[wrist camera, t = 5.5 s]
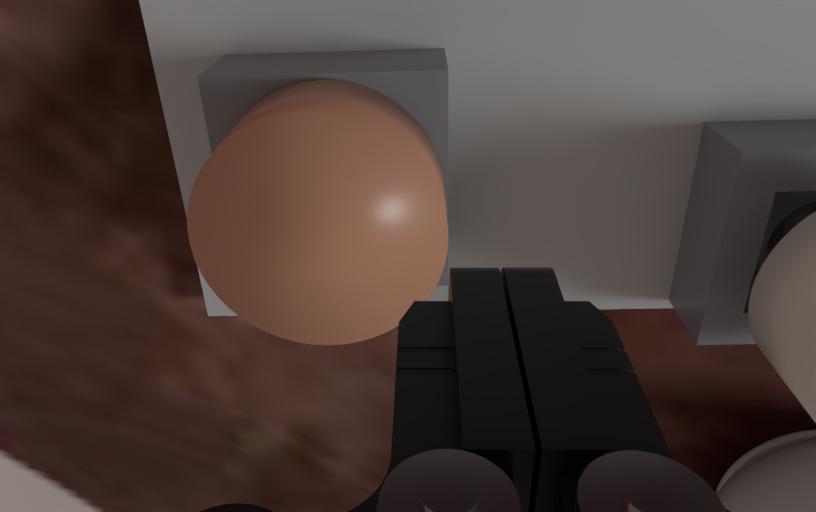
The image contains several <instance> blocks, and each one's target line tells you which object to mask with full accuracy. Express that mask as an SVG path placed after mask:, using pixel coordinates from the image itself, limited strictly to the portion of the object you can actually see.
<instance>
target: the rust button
mask: <svg viewBox="0 0 816 512" xmlns="http://www.w3.org/2000/svg"><path fill="white" fill-rule="evenodd" d="M187 230H188V237H189V243H190V247H191V250H192V253H193V257H194V259H195V261H196V264H197V266H198V268H199V270H200V272H201V274H202V276H203V277H204V279H205V281H206V282H207V284H208V285H209V287H210V288H211V289H212V290H213V292H214V293H215V294H216V295H217V297H218V298H219V299H220V300H221V301H222V302H223V303H224V304H225V305H226V306H227V307H228V308H229V309H231V310H232V311H233V312H234V313H236V314H237V315H238V316H240V317H241V318H242V319H244V320H245V321H247V322H249V323H250V324H252V325H253V326H255V327H257V328H259V329H261V330H263V331H265V332H267V333H270V334H272V335H275V336H278V337H281V338H283V339H287V340H291V341H295V342H300V343H307V344H314V345H340V344H349V343H354V342H360V341H363V340H367V339H370V338H373V337H376V336H378V335H381V334H383V333H385V332H388V331H390V330H391V329H393V328H395V327H397V326H398V325H399V321H400V320H401V318H402V317H403V316H404V314H405V313H406V312H407V310H408V309H409V308H410V306H411V305H412V304H413V302H414V301H426V300H427V299H428V298H429V296H430V295H431V294H432V292H433V290H434V289H435V287H436V285H437V283H438V281H439V279H440V277H441V274H442V271H443V269H444V266H445V261H446V257H447V252H448V238H449V237H448V223H447V212H446V201H445V190H444V178H443V172H442V168H441V163H440V160H439V157H438V155H437V152H436V149H435V147H434V145H433V144H432V142H431V140H430V138H429V136H428V135H427V133H426V132H425V130H424V129H423V128H422V126H421V125H420V124H419V123H418V121H417V120H416V119H415V118H414V117H413V116H412V115H411V114H410V113H409V112H408V111H407V110H405V109H404V108H403V107H402V106H400V105H399V104H398V103H397V102H395V101H393V100H392V99H390V98H389V97H387V96H385V95H384V94H382V93H379V92H377V91H375V90H373V89H371V88H368V87H365V86H362V85H358V84H355V83H351V82H345V81H339V80H312V81H304V82H300V83H296V84H291V85H288V86H286V87H283V88H281V89H278V90H276V91H274V92H272V93H270V94H269V95H267V96H265V97H263V98H262V99H261V100H259V101H258V102H257V103H255V104H254V105H253V106H251V107H250V109H249V110H248V111H247V112H246V113H245V114H244V115H243V116H242V117H241V118H240V119H239V120H238V122H237V123H236V124H235V125H234V127H233V128H232V129H231V130H230V132H229V133H228V134H227V135H226V137H225V138H224V139H223V140H222V142H221V143H220V144H219V145H218V147H217V148H216V149H215V150H214V152H213V153H212V154H211V155H210V157H209V158H208V160H207V161H206V162H205V164H204V165H203V167H202V168H201V170H200V172H199V174H198V176H197V178H196V180H195V182H194V185H193V188H192V191H191V194H190V198H189V204H188V211H187Z"/></svg>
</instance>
